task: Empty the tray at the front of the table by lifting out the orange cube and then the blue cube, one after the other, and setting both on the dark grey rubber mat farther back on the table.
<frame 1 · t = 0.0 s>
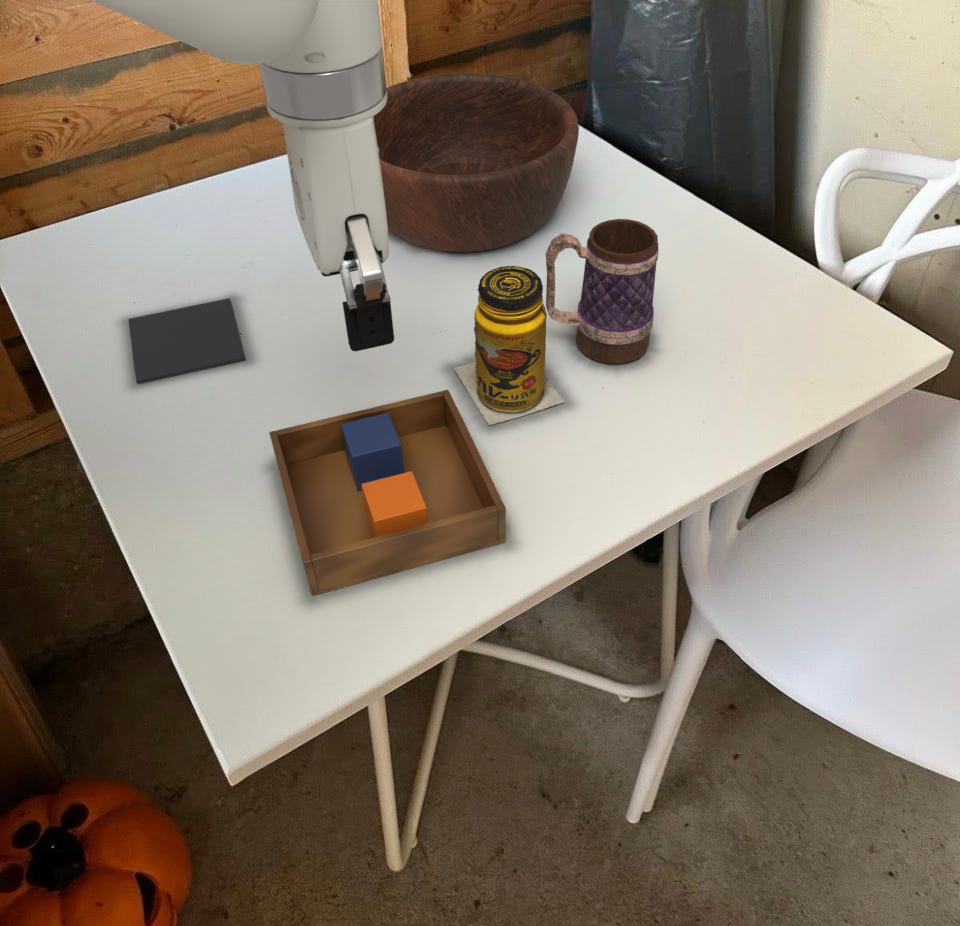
hand: (356, 306, 69), 14 cm above the table, tool pointing down, fingers open, 9 cm apart
tray: (387, 502, 75), on the table
wooden bowl: (464, 208, 106), on the table
orange cube: (397, 530, 72), resting on tray
mat: (186, 340, 90), on the table
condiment: (507, 388, 84), on the table
blue cube: (375, 468, 76), resting on tray
mug: (595, 344, 88), on the table
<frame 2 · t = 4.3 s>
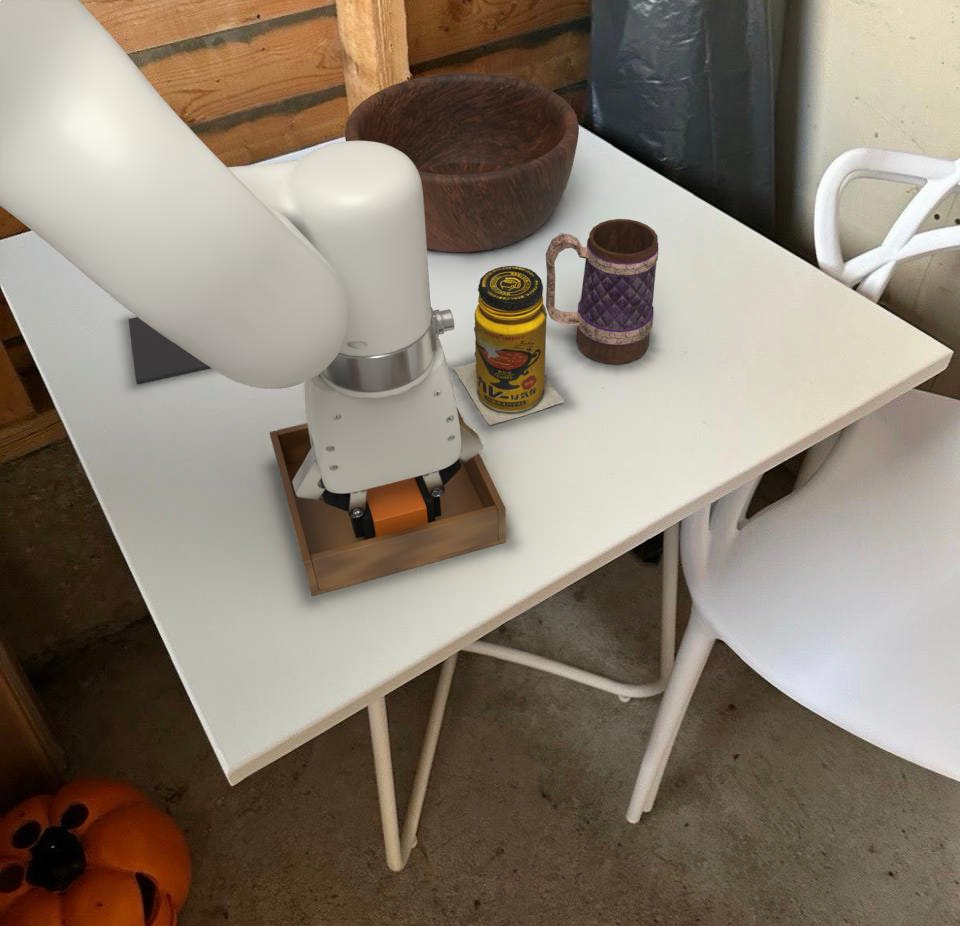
hand: (397, 527, 72), 1 cm above the table, tool pointing down, fingers closed on orange cube, 4 cm apart
orange cube: (397, 530, 72), resting on tray, touching gripper
everything else where it was.
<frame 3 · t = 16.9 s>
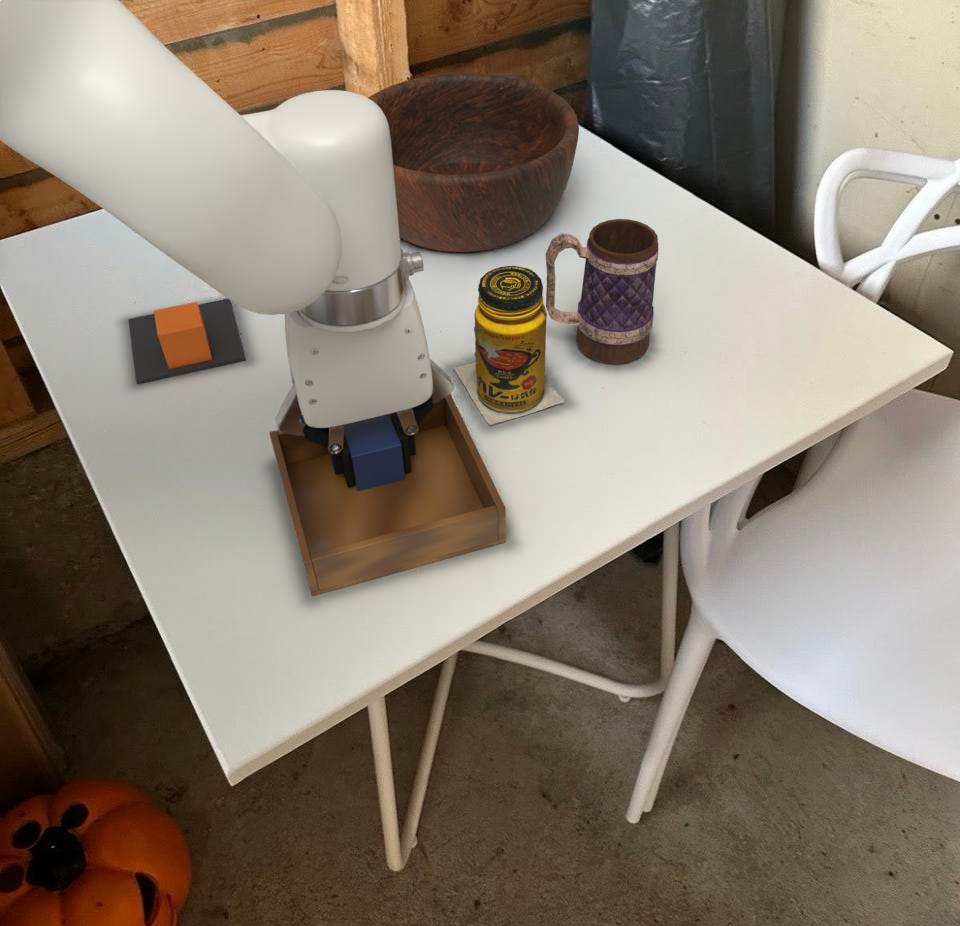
hand: (375, 466, 76), 1 cm above the table, tool pointing down, fingers closed on blue cube, 4 cm apart
orange cube: (188, 352, 88), resting on mat
blue cube: (375, 468, 76), resting on tray, touching gripper
everything else where it was.
when the fingers open (1 cm above the table, at t = 24.1 s): blue cube stays where it is, resting on mat.
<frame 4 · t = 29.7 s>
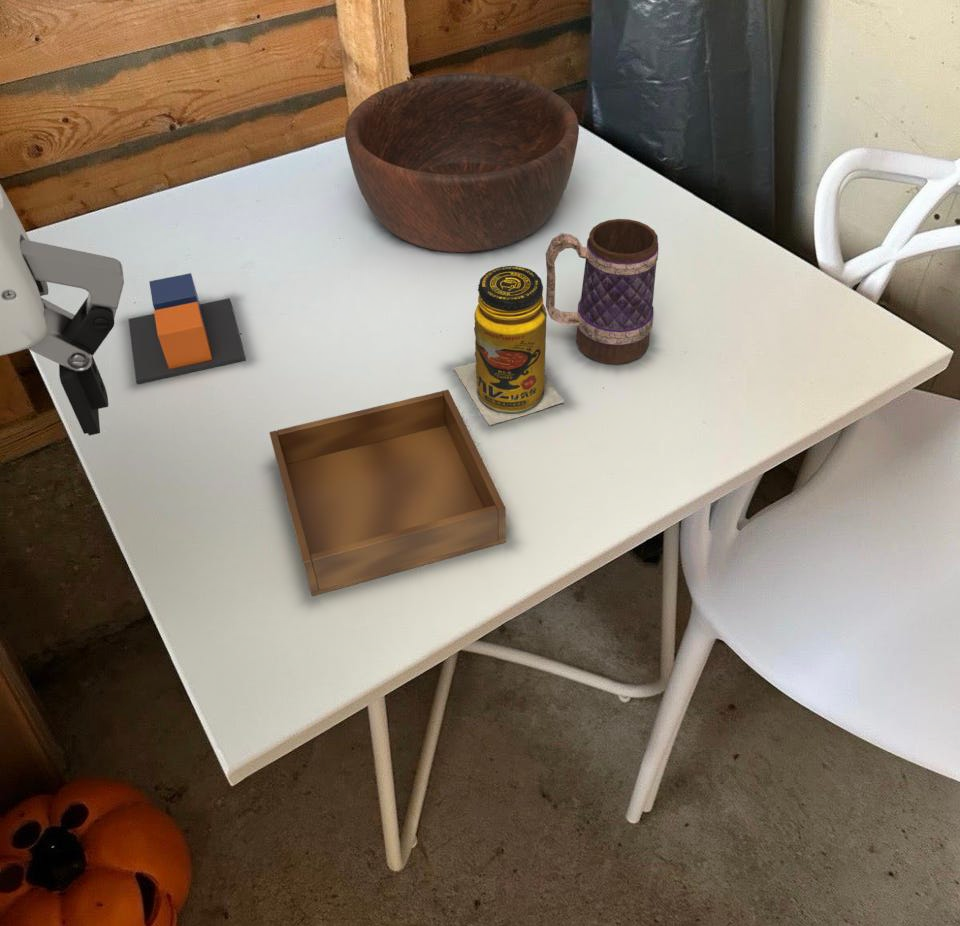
blue cube: (182, 321, 91), resting on mat
everything else where it was.
at the end: orange cube inside the target area on the mat (2.4 cm from its centre), point 0.4 cm above the mat's base; blue cube inside the target area on the mat (2.6 cm from its centre), point 0.4 cm above the mat's base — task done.
